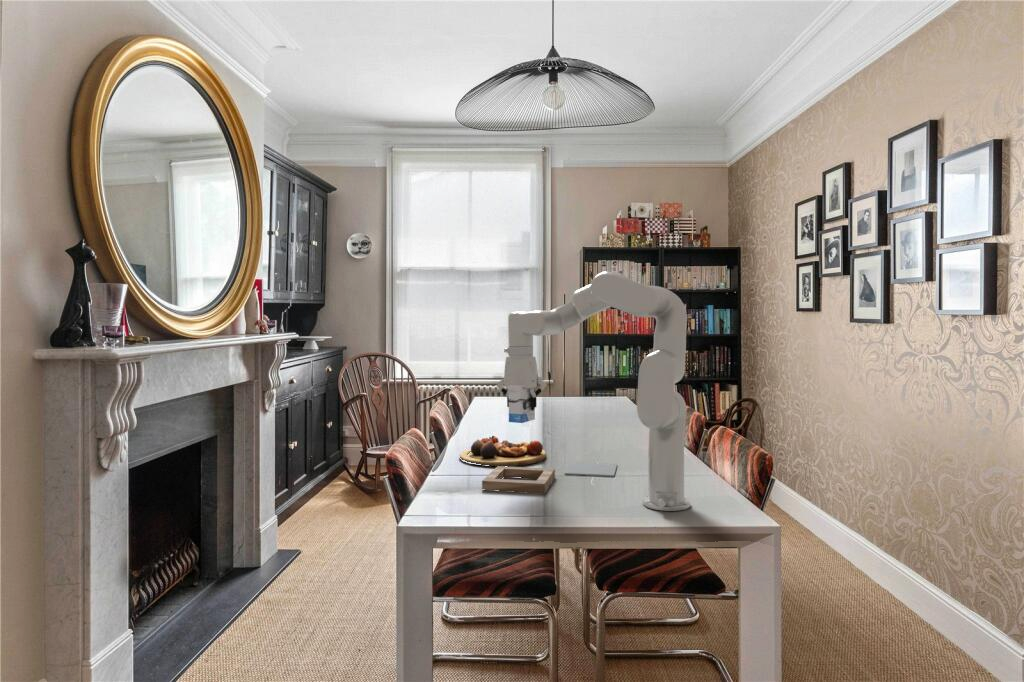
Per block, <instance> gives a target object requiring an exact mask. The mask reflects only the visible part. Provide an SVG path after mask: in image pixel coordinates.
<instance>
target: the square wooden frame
mask: <svg viewBox="0 0 1024 682" xmlns="http://www.w3.org/2000/svg"><path fill="white" fill-rule="evenodd" d="M555 470H556V469H555V468H551V467H549V468H548V467H546V468H545V467H525V466H524V467H521V466H509V467H505V466H497V467H494V469H493V470H492V471H491V472H490V473H489V474H487V476H486V477H484V478H483V480H481V490H482V489H485V490H499V491H514V492H513V493H516V492H527V493H526V494H535V493H542V494H541V495H545V494H546V493H547V491H548V490H547V489H549V488H550V487H551V485H552V483H553V482H554V481H555V479H556V471H555ZM503 477H521V478H531V479H510V478H504V479H502V478H503ZM554 478H555V479H554ZM552 481H553V482H552ZM550 484H551V485H550ZM549 486H550V487H549Z"/></svg>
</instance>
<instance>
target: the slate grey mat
mask: <svg viewBox="0 0 1024 682" xmlns="http://www.w3.org/2000/svg"><path fill="white" fill-rule="evenodd" d="M617 468H618V464H617V463H605V462H604V463H603V462H577V461H576V462H575V461H571V462H570V463H569V465H568V467H567V468H566V470H565V471H564V475H565V474H567V475H566V476H580V475H585V476H587V477H602V476H605V477H606V478H607V477H609V478H613V477H615V475H616V470H617ZM605 477H604V478H605Z"/></svg>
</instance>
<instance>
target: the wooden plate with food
mask: <svg viewBox="0 0 1024 682" xmlns="http://www.w3.org/2000/svg"><path fill="white" fill-rule="evenodd" d="M470 452H471V453H470ZM469 453H470V455H469V456H467V455H468V454H469ZM459 456H460V458H461V459H462V460H465V461H467V462H471V463H476V464H481V465H489V466H509V467H519V466H518V465H520V466H526V465H531V464H537V463H539V462H542V461H543V460H545V459H546V457H547V452H546V450H544V446H543V444H542V442H541V441H539V440H531V441H530V442H527V441H524V442H519V443H514V442H509V441H507V440H502V442H500V441H499V438H498V437H496V436H495V435H492V436H489V438H488V437H486V438H485V437H484V438H482V439H477V440H475V441H473V442H472V444H471V447H470V449H467V450H464V451H461V453H460V454H459ZM460 458H459V459H460Z"/></svg>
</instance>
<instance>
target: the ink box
mask: <svg viewBox="0 0 1024 682" xmlns="http://www.w3.org/2000/svg"><path fill="white" fill-rule="evenodd" d="M508 387H509V407H508V423H515V424H516V423H517V424H524V423H527V422H528V423H529V422H530V421H531V422H532V421H535V420H536V409H535V410H533V411H532V410H531V397H532V394H531V392H530V390H529V389H525V385H520V384H509V385H508Z"/></svg>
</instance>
